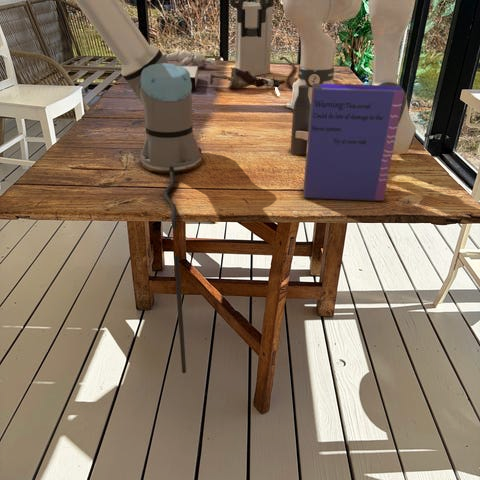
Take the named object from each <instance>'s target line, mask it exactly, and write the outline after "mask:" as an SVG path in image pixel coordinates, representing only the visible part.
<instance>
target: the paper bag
mask: <svg viewBox="0 0 480 480" xmlns="http://www.w3.org/2000/svg"><path fill="white" fill-rule="evenodd" d="M273 8H274V5H273V6H272V7H269V8H267V9H266V21H265V23H262V28H261V37H258V36H256V37H247V36H245V37H242V36H241V23H238V22H237V8H235V59H234V60H235V62H234V63H235V65H234V66H235V67H234V68H237V69H240V70H242V71H244V72H245V71H249V72H250V73H251V75H252V76H256V77H257V76H259V75H260V76H261V75H266V74H270V73H271V56H272V55H271V54H272V33H273V32H272V31H273V10H274V9H273ZM242 9H245V27H257V13H258V9H261V7H260V2H252V1H244V2H243V8H242Z"/></svg>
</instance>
